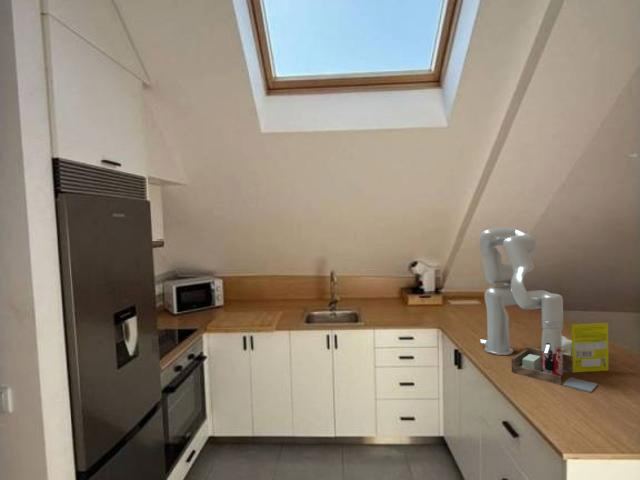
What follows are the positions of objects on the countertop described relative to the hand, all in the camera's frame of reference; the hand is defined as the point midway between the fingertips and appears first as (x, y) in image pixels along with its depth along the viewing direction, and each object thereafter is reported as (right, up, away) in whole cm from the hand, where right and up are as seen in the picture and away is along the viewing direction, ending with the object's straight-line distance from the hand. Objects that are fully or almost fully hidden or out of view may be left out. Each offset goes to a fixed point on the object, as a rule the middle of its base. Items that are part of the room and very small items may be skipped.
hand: (552, 367), depth 156 cm
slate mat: (+4, -4, -10) cm, 12 cm away
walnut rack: (-3, -3, +3) cm, 5 cm away
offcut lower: (-6, -4, +5) cm, 9 cm away
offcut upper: (-6, -1, +5) cm, 8 cm away
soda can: (0, -4, 0) cm, 4 cm away
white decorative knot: (+17, -2, +19) cm, 25 cm away
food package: (+17, -3, +2) cm, 17 cm away
